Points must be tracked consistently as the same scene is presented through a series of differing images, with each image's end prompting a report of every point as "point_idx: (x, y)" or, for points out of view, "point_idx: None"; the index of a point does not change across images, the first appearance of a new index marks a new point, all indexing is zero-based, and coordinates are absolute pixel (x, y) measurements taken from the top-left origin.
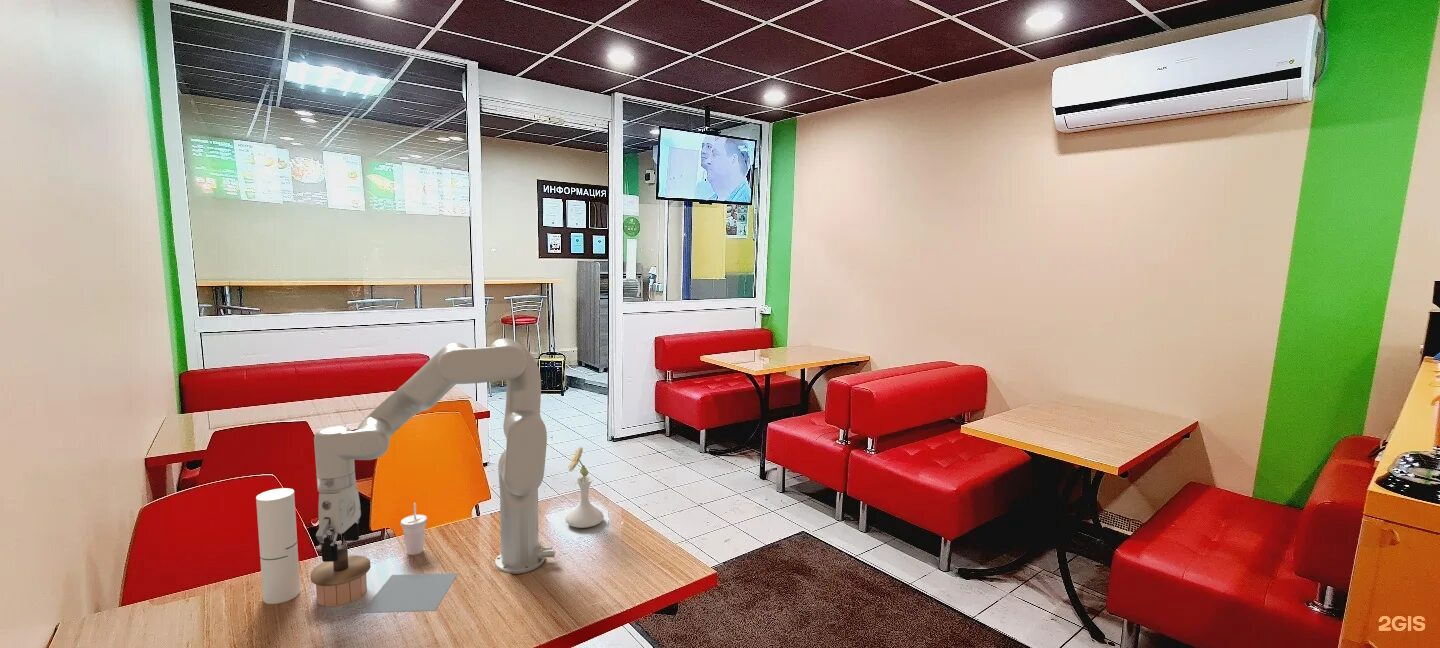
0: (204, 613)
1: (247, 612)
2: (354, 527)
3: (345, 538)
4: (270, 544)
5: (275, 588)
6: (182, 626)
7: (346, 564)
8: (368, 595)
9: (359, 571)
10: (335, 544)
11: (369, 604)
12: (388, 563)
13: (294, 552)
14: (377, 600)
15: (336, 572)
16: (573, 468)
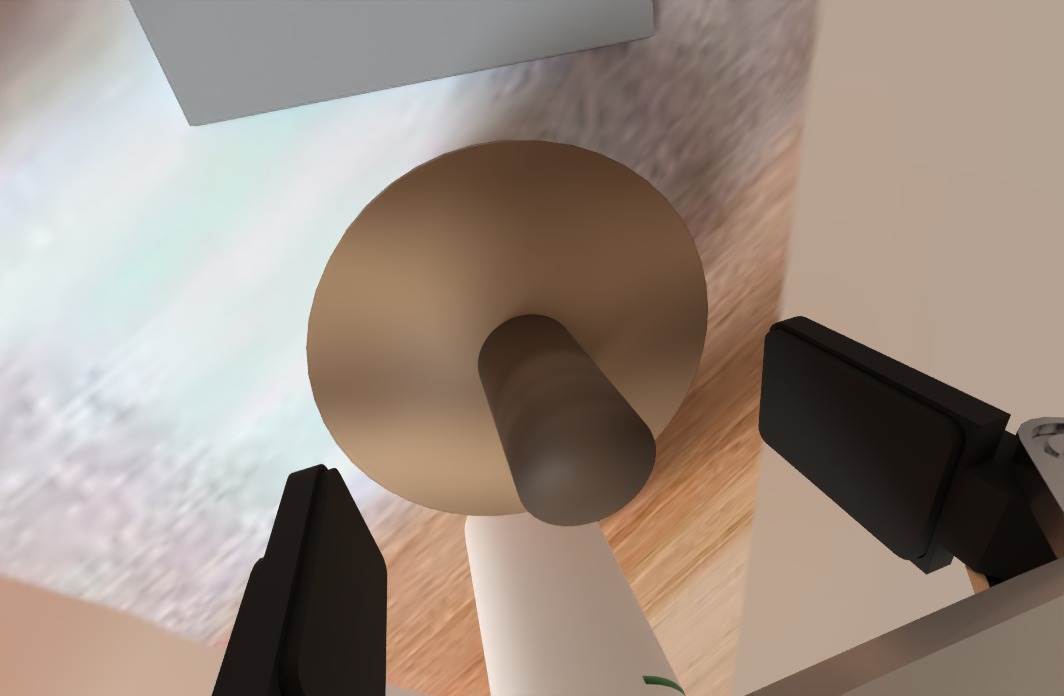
0: (646, 611)
1: (638, 524)
2: (312, 666)
3: (382, 582)
4: None
5: (608, 543)
6: (704, 598)
7: (542, 327)
8: (453, 142)
9: (555, 176)
10: (998, 428)
11: (574, 37)
12: (41, 287)
13: (597, 688)
14: (524, 9)
15: (587, 345)
16: None
